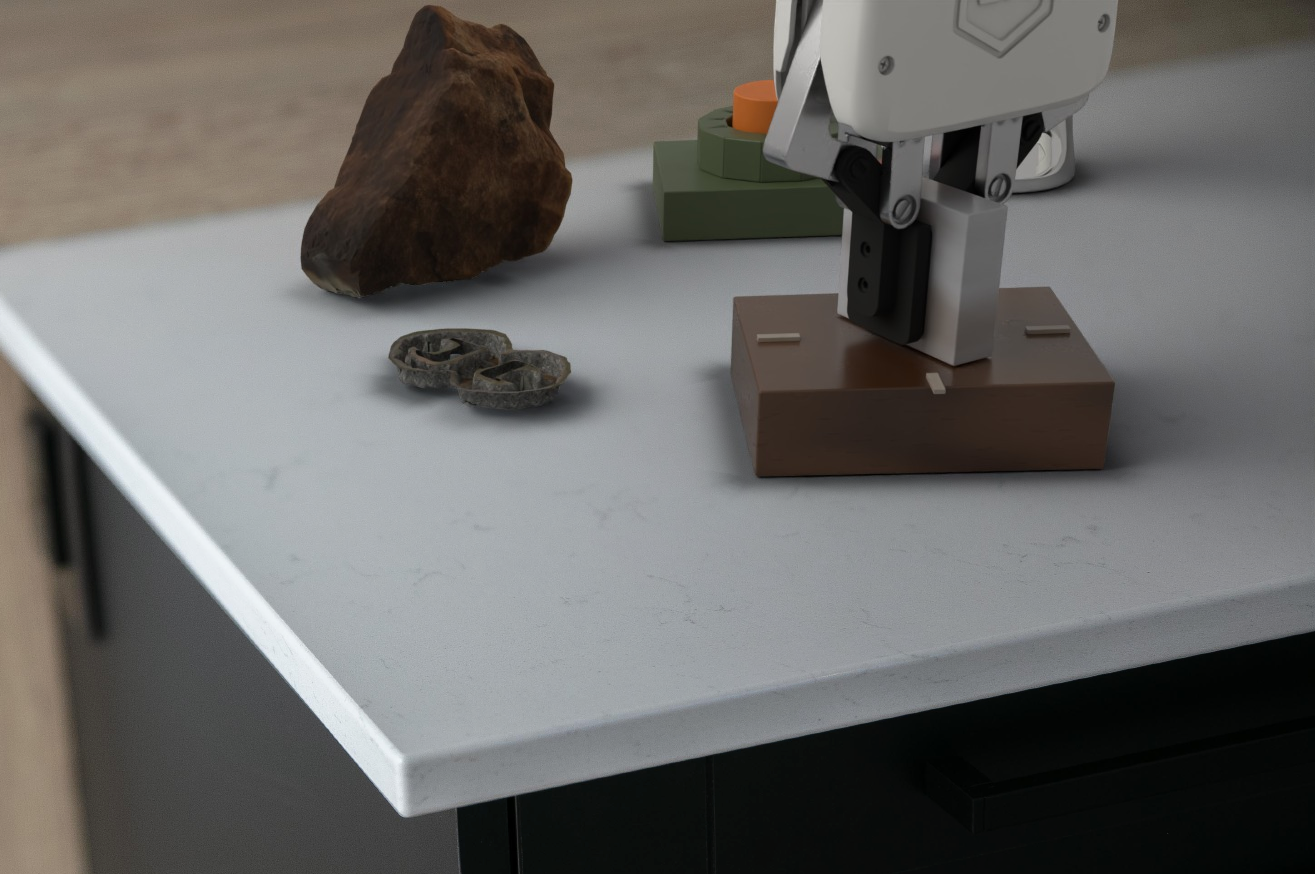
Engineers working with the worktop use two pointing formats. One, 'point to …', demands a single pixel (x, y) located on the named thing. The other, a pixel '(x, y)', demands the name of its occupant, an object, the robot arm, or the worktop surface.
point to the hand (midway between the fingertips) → (913, 320)
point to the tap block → (915, 393)
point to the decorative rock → (443, 165)
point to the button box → (737, 188)
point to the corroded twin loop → (479, 367)
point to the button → (754, 106)
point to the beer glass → (1048, 161)
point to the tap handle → (953, 272)
